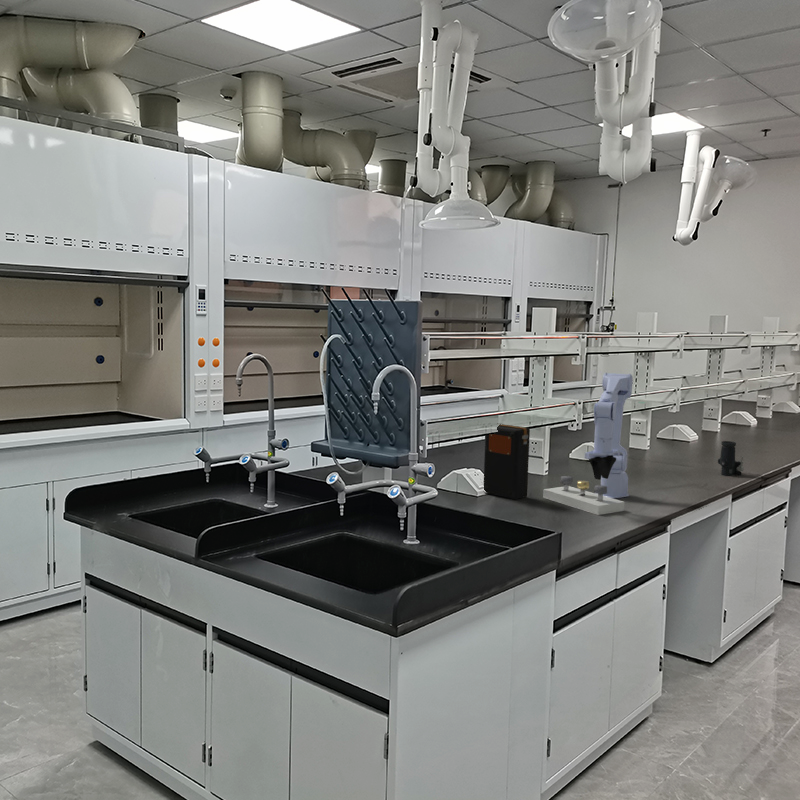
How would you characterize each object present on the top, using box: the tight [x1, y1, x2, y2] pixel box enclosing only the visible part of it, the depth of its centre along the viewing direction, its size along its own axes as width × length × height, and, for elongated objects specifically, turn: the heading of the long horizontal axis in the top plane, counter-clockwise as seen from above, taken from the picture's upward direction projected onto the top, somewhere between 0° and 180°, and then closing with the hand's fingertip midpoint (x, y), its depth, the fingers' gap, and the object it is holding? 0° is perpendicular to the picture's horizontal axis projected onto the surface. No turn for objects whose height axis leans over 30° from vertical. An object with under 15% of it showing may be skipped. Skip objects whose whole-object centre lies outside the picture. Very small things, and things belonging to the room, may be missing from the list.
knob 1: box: [560, 475, 573, 491], centre depth 258 cm, size 4×4×5 cm
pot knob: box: [576, 480, 590, 496], centre depth 251 cm, size 4×4×5 cm
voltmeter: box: [483, 423, 531, 500], centre depth 261 cm, size 16×9×25 cm, turn 45°
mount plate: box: [542, 485, 625, 516], centre depth 251 cm, size 12×26×3 cm, turn 31°
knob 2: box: [593, 484, 607, 502], centre depth 244 cm, size 4×4×5 cm
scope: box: [717, 440, 745, 477], centre depth 306 cm, size 8×14×10 cm
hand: (601, 478), depth 244 cm, fingers open, 3 cm apart
